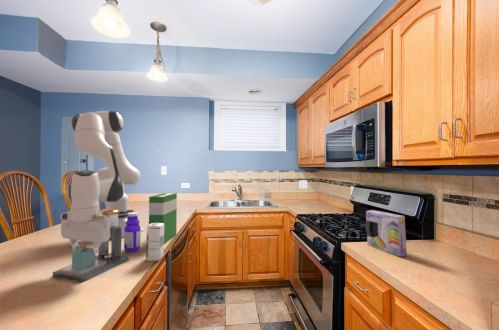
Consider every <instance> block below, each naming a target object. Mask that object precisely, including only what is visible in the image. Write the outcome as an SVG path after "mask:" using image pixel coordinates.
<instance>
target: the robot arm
mask: <svg viewBox="0 0 499 330" xmlns="http://www.w3.org/2000/svg"><path fill="white" fill-rule="evenodd" d="M71 127H72V129H73V131H74V144H75V147H76V149H78V151H80V152H81V153H82V154H84V155H86V156H89V157H93V158H95V159H99V160H101V161H102V162H104V163H105V164H106V166H107V167H102V168H98V169H97V171H94V170H77V171H75V172H73V174H72V178H71V184H69V185H68V198H69V200H71V205H70V210H69V211H64V212H63V213H61V214H60V219H61V223H60V235H61V237H62V238H63V239H67V240H69V244H70V245H71V247H72V248H71V250H72V252H73V251H76V250H79V249H81V248H80V247H81V245H80V244H78V243H79V242H78V241H84V242H91V243H93V249H91V251H92V252H91V253H92V254H95V255H98V252H99V247H100V245H101V243H103V242H106V241H108V240H109V239H110V228H109V223H108V220H107V219H106V218H105V216H102V215H101V205H100V203H105V202H106V204H105V205H106V210H110V209H118V210H119V213H118V227H122V230H121V239H122V238H124V229H125V227H126V221H127V219H128V213H131V212H135V209H129V208H130V204H129V203H130V201H129V200H130V197H129V195H128V194H127V193H126V192H125V187H131V186H135V185H138V184H139V183H140V181H141V177H142V176H141V172H140V170H139V169H138V168H136V167H134V166H133V165H132V164H131V163H130V161H129V160H128V159H127V157H126V154H125V152H124V148H123V145H122V141H121V137H120V135H119V132H121V131H122V130H123V128H124V119H123V116H122V115H121V114H120V113H119V112H118V111H115V110H110V111H108V110H107V111H104V110H103V111H101V110H100V111H99V110H98V111H94V112H92V111H91V112H85V113H84V112H83V113H79V114H78V113H77V114H75V115H73V117H72V118H71ZM139 226H140V228H141V232H143V231H145V228H144V227H141V222H140V221H139Z"/></svg>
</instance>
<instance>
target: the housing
mask: <svg viewBox="0 0 499 330" xmlns="http://www.w3.org/2000/svg"><path fill="white" fill-rule="evenodd" d="M80 247H81V248H80V249H79V250H76V251H73V250H72V251H71V265H72V267H75V268H80V269H83V268H85V267H88V266H90V265H93V264H95V256H96V254H92V253H91V252H92V251H91V249H93V248H94V247H93V248H92V247H88V246H87V245H80Z"/></svg>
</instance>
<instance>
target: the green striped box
mask: <svg viewBox="0 0 499 330" xmlns="http://www.w3.org/2000/svg"><path fill="white" fill-rule="evenodd" d="M177 197H178V194H177V193H176V192H175V193H172V194H169V193H165V192H164V193H160V194H156V195H150V196H148V225H150V224H151V223H164V245H165V244H167V243H168V242H169V241H171V240H172V239H173V238H174V237H176V236H177V223H178V222H177V221H178V220H177V215H178V214H177V212H178V211H177V206H178V205H177V203H178V199H177Z"/></svg>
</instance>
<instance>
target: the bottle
mask: <svg viewBox="0 0 499 330" xmlns="http://www.w3.org/2000/svg"><path fill="white" fill-rule="evenodd" d="M138 216H139V215H138V212H135V211H134V212H131V213H128V219H127V221H126V227H125V229H124V237H123V238H124V239H123V249H124V251H126V252H129V253H133V252H137V251H139V250H140V249H141V232H142V231H141V228H142V227H141V225H140V226H139V222H140V220H139V217H138ZM140 227H141V228H140Z"/></svg>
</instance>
